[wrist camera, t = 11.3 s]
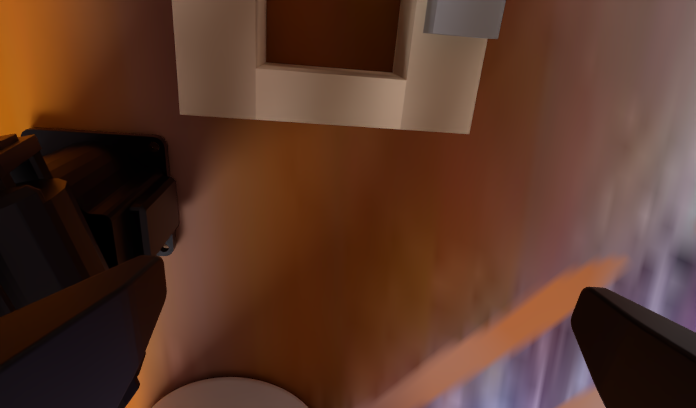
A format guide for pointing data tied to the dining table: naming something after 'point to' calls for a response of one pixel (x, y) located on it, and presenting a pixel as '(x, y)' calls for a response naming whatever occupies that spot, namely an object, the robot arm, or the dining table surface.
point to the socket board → (335, 83)
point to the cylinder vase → (230, 395)
